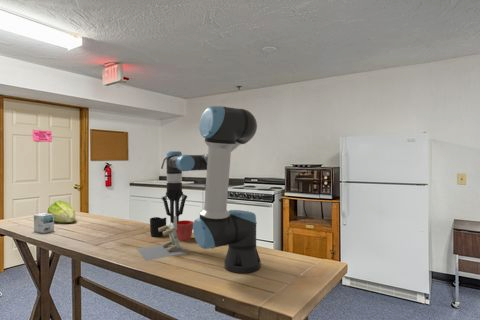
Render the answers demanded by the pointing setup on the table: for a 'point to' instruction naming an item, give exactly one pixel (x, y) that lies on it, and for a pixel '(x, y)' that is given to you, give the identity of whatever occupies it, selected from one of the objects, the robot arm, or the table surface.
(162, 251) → the mat
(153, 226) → the pen holder
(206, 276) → the table surface
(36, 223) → the light bulb box
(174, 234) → the stool
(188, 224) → the flower pot
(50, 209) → the lettuce
